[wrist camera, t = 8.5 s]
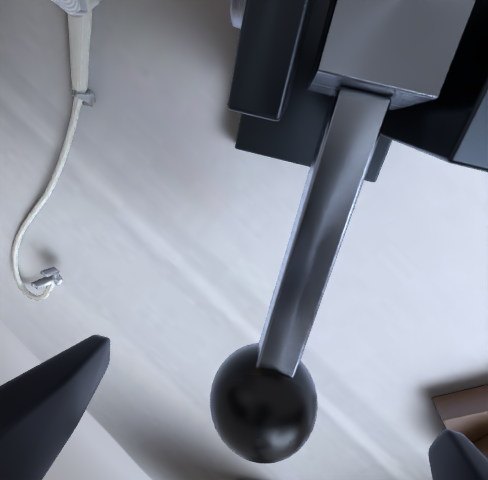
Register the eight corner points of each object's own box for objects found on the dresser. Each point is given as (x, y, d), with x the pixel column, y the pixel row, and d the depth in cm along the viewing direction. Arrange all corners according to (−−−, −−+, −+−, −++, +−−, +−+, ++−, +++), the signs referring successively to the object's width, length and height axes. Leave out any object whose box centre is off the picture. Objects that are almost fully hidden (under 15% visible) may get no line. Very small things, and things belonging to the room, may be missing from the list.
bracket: (369, 177, 16) (489, 297, 6) (238, 145, 16) (159, 213, 7) (456, -45, 12) (1091, -592, 3) (283, -82, 13) (255, -714, 3)
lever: (297, 408, 11) (303, 506, 8) (213, 385, 12) (189, 473, 9) (454, -12, 7) (578, -119, 4) (318, -42, 7) (344, -167, 4)
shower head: (-43, 301, 19) (-39, -117, 12) (14, 281, 22) (46, -61, 15) (18, 348, 18) (64, -90, 11) (70, 320, 21) (134, -34, 14)
